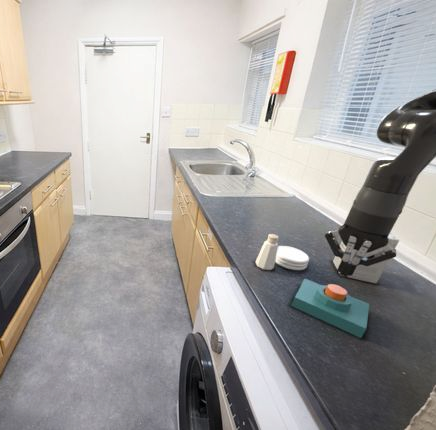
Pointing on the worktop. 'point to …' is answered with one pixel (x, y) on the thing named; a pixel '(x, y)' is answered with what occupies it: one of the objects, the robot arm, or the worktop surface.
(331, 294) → the orange button cap
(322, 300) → the button base
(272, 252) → the pepper shaker
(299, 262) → the white round stack
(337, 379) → the worktop surface
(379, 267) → the rectangular carton
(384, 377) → the worktop surface
